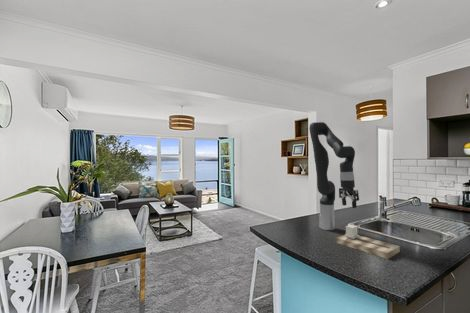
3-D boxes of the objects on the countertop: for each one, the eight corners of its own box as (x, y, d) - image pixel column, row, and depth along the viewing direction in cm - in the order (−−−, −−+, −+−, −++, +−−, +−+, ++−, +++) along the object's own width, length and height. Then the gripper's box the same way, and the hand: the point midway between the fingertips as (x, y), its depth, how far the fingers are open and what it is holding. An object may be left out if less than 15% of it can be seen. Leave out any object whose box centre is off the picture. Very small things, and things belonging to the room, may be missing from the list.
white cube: (344, 236, 128) (344, 226, 128) (350, 234, 131) (349, 224, 131) (353, 239, 124) (353, 228, 124) (358, 236, 127) (358, 226, 127)
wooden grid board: (336, 242, 128) (336, 237, 128) (349, 237, 136) (349, 232, 136) (387, 259, 106) (387, 252, 106) (399, 251, 114) (399, 245, 114)
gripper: (334, 179, 139) (336, 205, 138) (349, 180, 125) (352, 209, 124) (344, 178, 141) (346, 204, 140) (361, 179, 127) (363, 208, 126)
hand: (349, 206), depth 132 cm, fingers open, 8 cm apart
